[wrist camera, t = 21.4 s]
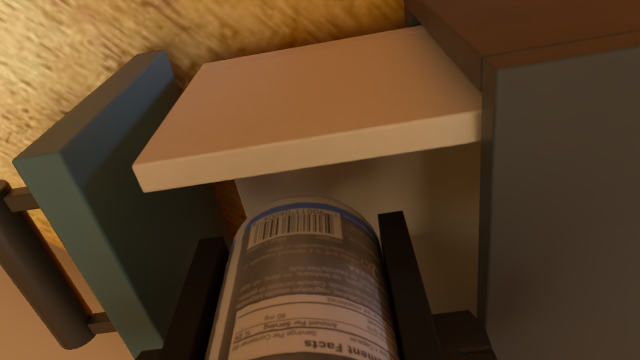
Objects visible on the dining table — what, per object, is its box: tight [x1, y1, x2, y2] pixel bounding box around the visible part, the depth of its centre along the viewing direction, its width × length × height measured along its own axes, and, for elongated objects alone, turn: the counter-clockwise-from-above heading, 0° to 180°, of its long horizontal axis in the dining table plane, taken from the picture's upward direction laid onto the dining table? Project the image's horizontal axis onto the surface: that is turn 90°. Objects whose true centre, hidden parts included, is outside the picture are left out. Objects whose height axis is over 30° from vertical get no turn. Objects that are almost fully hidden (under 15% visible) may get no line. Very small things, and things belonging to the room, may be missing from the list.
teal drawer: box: [0, 25, 482, 359], centre depth 16 cm, size 20×11×8 cm, turn 100°
